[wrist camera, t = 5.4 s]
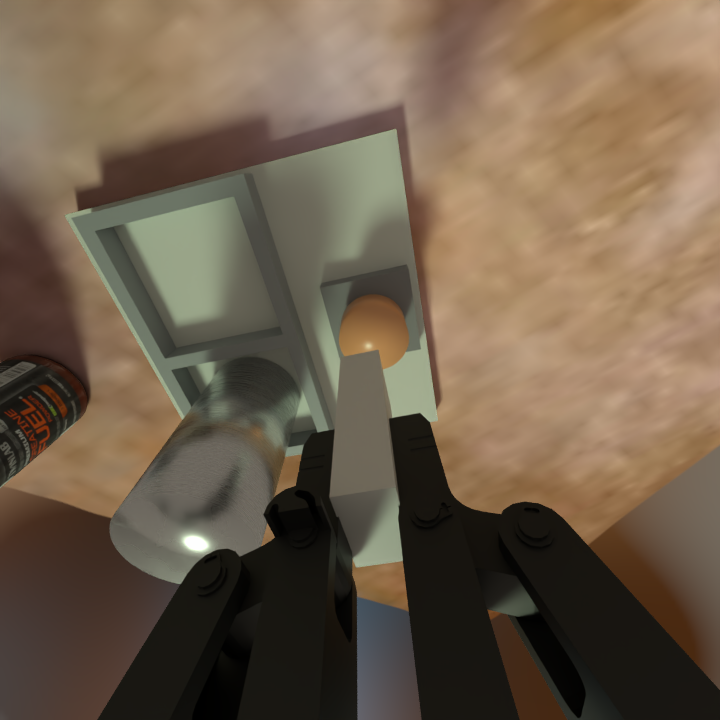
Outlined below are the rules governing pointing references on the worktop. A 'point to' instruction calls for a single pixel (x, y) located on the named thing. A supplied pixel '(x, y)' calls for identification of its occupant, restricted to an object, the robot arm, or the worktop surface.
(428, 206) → the worktop surface
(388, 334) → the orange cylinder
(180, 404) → the pale green compartment tray
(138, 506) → the cylinder
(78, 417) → the supplement bottle
